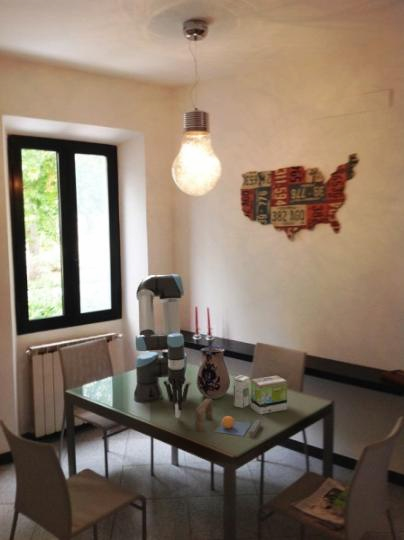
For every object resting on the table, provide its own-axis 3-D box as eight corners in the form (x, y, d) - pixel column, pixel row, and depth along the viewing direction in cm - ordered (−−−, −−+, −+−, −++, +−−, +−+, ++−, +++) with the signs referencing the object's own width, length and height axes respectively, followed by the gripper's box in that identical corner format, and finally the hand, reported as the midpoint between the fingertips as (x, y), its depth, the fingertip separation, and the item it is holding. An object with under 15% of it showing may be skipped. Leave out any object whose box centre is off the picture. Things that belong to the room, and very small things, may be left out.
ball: (233, 423, 214) (228, 433, 215) (238, 419, 218) (232, 428, 220) (223, 416, 215) (217, 425, 217) (228, 411, 220) (222, 421, 222)
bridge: (195, 430, 217) (194, 410, 216) (206, 417, 230) (206, 398, 229) (201, 431, 216) (200, 411, 215) (212, 418, 229) (212, 399, 228)
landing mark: (214, 432, 214) (214, 431, 214) (224, 420, 226) (224, 419, 226) (243, 436, 210) (243, 435, 210) (251, 424, 222) (251, 423, 222)
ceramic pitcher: (193, 400, 252) (191, 353, 249) (203, 386, 272) (202, 342, 269) (226, 403, 247) (225, 355, 244) (234, 388, 267) (233, 344, 264)
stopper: (249, 436, 209) (249, 431, 209) (256, 425, 220) (256, 419, 220) (253, 437, 208) (253, 431, 208) (260, 425, 220) (260, 420, 219)
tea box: (261, 415, 231) (260, 385, 229) (250, 408, 240) (250, 379, 238) (288, 409, 237) (287, 380, 235) (276, 402, 246) (276, 374, 244)
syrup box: (240, 402, 248) (239, 374, 246) (249, 405, 244) (249, 376, 242) (233, 405, 243) (232, 377, 242) (243, 408, 239) (242, 380, 238)
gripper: (160, 368, 224) (161, 417, 227) (186, 371, 219) (187, 421, 222) (167, 363, 231) (168, 411, 233) (192, 366, 226) (194, 415, 229)
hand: (178, 416), depth 228 cm, fingers closed
